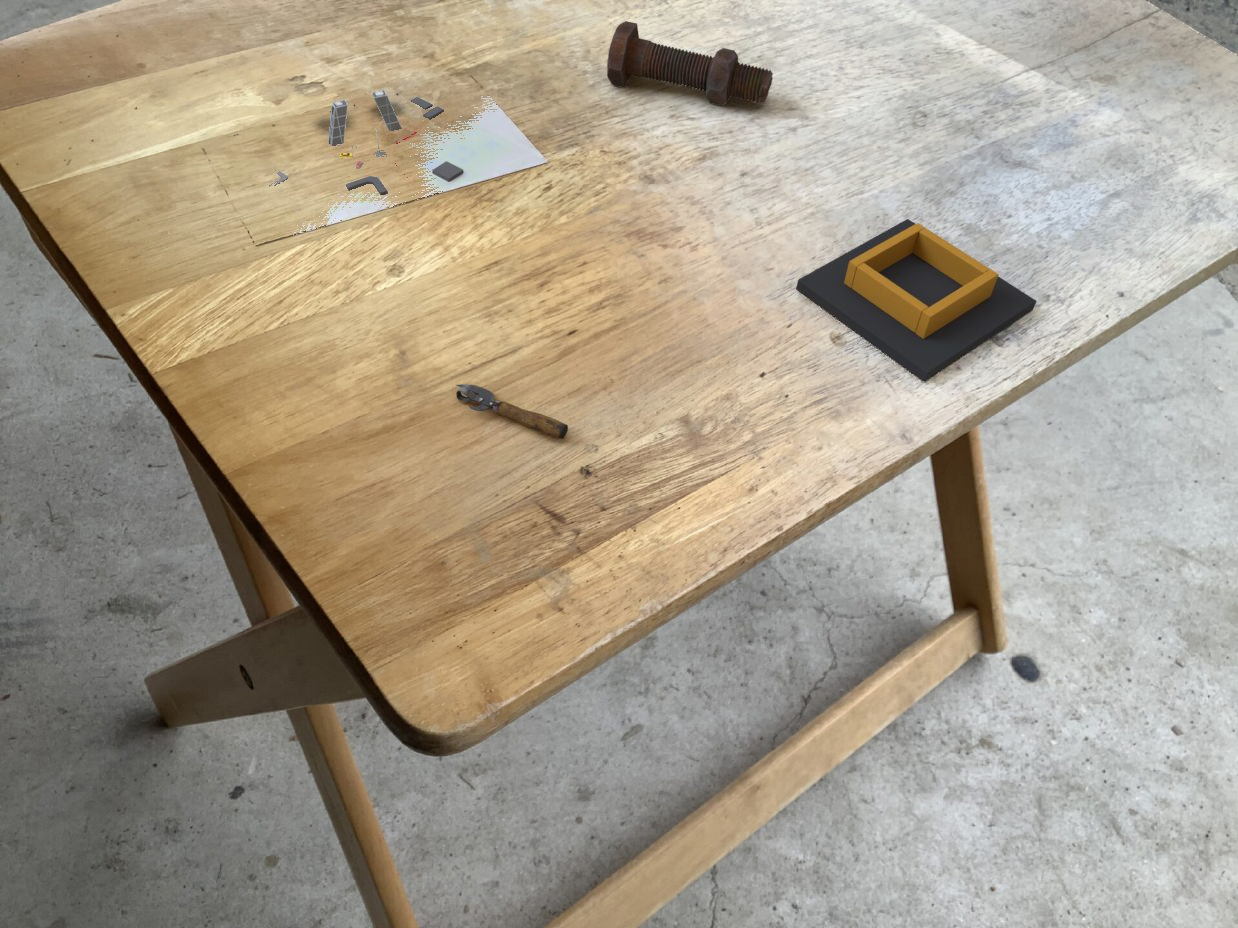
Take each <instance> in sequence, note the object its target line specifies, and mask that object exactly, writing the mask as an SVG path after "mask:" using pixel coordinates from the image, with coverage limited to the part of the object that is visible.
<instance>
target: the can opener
mask: <svg viewBox="0 0 1238 928" xmlns="http://www.w3.org/2000/svg"><path fill="white" fill-rule="evenodd" d="M455 387H459V389H458V390H457V391H456V395H455V397H456V399H457V400H458V401H460V402H465V403H466V402H467V403H468V402H473V403H476V404H478V406H474V405H472V404H471V403H470V404H468V408H469V409H471V410H473V411H476V412H477V411H478V412H481V411H483V412H484V411H486V410H488V409H491V410H492V411H493V413H494V414H496V415H498V416H499V417H501V418H505V419H508V420H510V421H513V422H516V423H520V424H522V425H524V426H526V427H528V428H530V429H532V430H533V431H537V432H539V433H542V434H545V435H548V436H551V437H554V438H557V439H562V440H563V439H565V437H566V436H567V434H568V430H569V426H568V424H566V423H564V422H562V421H560V420H558V419H556V418H553V417H550V416H548V415H544V414H542V413H538V412H534V411H532V410H531V411H530V410H528V409H524V408H521V407H519V406H516V405H514V404H512V403H509V402H506V401H501V400H496V401H495V395H494V393H493V392H492V391H491V390H489V389H486V388H485V387H482V386H479V385H477V384H466V383H464V384H462V383H461V384H455ZM476 394H477V395H476Z"/></svg>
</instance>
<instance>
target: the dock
mask: <svg viewBox="0 0 1238 928" xmlns="http://www.w3.org/2000/svg"><path fill="white" fill-rule="evenodd" d="M795 290H796V291H798V292H799V293H801V295H802V296H805V297H806V298H807V299H809V300H810V301H812V302H813V303H814V304H816V306H819V307H820V308H821V309H822V310H823V311H825V312H826V313H828V314H829V315H830V316H832V317H833V318H835V319H836V320H838V321H839V322H840V323H841V324H843V325H845V326H846V327H847V328H848V329H850V330H851V331H853V332H854V333H855V334H856V335H858V336H860V337H861V338H862V339H864V340H865V341H866V342H868V343H869V344H871V345H872V346H873V347H875V348H876V349H878V350H879V351H880V352H882V353H883V354H884V355H885V356H887V357H889V358H890V359H891V360H893V361H894V362H895V363H897V364H898V365H899V366H901V367H902V368H904V369H905V370H906V371H908V372H909V373H910V374H912V375H913V376H915V377H916V378H918V379H919V380H920V381H922V382H923V383H926V382H927V381H929V380H930V379H932V378H933V377H935V376H936V375H938V374H939V373H941V372H943V370H945V369H947V368H949V367H950V366H951V365H953V364H954V363H956V362H957V361H958V360H960V359H962V358H963V357H964V356H966V355H968V354H970V353H971V352H972V351H974V350H975V349H977V348H978V347H980V346H982V345H983V344H984V343H986V342H987V341H989V340H990V339H992V338H993V337H995V336H997V335H998V334H999V333H1001V332H1003V331H1005V329H1007V328H1008V327H1010V326H1011V325H1013V324H1015V323H1016V322H1018V321H1019V320H1020V319H1022V318H1023V317H1025V316H1027V315H1028V314H1030V313H1031V312H1033V311H1034V309H1035V306H1036V304H1037V299H1035V298H1033V297H1031V296H1030V295H1028V294H1027V293H1025V292H1023V291H1022V290H1020V289H1019V288H1018V287H1016V286H1014V285H1013V284H1011V283H1009V282H1008V281H1006V280H1005V279H1003V278H1002V277H1000V275H999V273H998V272H996V271H995V270H993V269H990V268H989V267H988V266H986V265H985V264H984V263H982V262H980V261H978V260H977V259H976V258H974V257H972V256H970V254H967V253H966V252H964V251H963V250H961V248H960V249H959V248H958V247H956V245H954V244H952V243H951V242H949V241H947V240H945V239H944V238H942V237H941V236H939V235H938V234H936V233H934V232H933V231H931V230H930V229H929V228H926V227H925V226H924V225H922V224H921V223H919V222H914V221H912V220H911V219H909V218H906V219H905V220H903V221H901V222H900V223H898V224H897V223H896V224H895V225H894V226H892V227H890V228H888V229H887V230H885V231H883V232H881V233H879V234H878V235H876V236H874V237H873V238H870V239H868V240H867V241H865V242H863V243H862V244H860V245H857V246H856V247H855V248H854V247H853V248H852V249H851V250H849V251H846V252H845V253H843V254H841V255H840V256H838V257H836V258H834V259H833V260H831V261H829V262H827V263H826V264H824V265H822V266H820V267H819V268H816V269H815V270H813V271H811V272H809V273H808V274H806V275H804V276H802V277H801V278H798V279H797V283H796V288H795Z"/></svg>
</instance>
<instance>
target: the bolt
mask: <svg viewBox="0 0 1238 928" xmlns="http://www.w3.org/2000/svg"><path fill="white" fill-rule="evenodd" d="M638 26H639V25H638V23H636V22H632V21H628V20H625V21H623V22H621V23H620V24H618V25H617V26H616V28H615V31H614V33H613V36H612V37H611V38H612V39H611V42H610V45H609V49H608V54H607V63H606V76H607V79H608V81H609V82H610V83H611V85H612V86H615V87H619V88H623V89H624V88H625V87H626V85H627V83H628V82H629V80H630V79H631V77H635V78H640V79H649V80H652V81H657V82H663V83H664V82H665V83H669V84H672V85H676V86H678V85H679V87H681V86H682V87H685V86H686V88H689V89H693V90H697V91H699V90H700V92H702V91H703V92H704V93H705V97H706V99H707V101H708V102H709V104H710V105H711V104H712V105H716V106H720V107H723V106H724V105H725V104H727V103H728V102H729V100H730V98H731V99H733V98H734V99H738V100H739V101H740V100H741V101H745V102H747V101H748V102H749V103H752V104H754V103H755V104H759V105H761V103H762V104H763V103H765V102H766V100H767V98H768V96H769V92H770V90H771V86H772V83H773V75H774V73H773V71H772V70H771V69H768V68H764V67H761V66H760V67H758V66H757V65H756V66H755V65H751V64H748V65H747V63H745V64H744V63H743V62H742V63H740V62H739V55H738V54H737V52H736V50H734V49H731V48H725V47H722V48H720V49H718V50H717V51H716V53H715V55H714V56H712V55H709V54H707V55H706V54H705V53H704V54H702V53H701V52H700V53H698V52H695V51H691V50H687V49H681V48H678V47H674V46H670V45H669V46H667V45H664V44H661V43H657V42H653V41H652V40H649V39H644V38H640V35H639V27H638Z"/></svg>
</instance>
